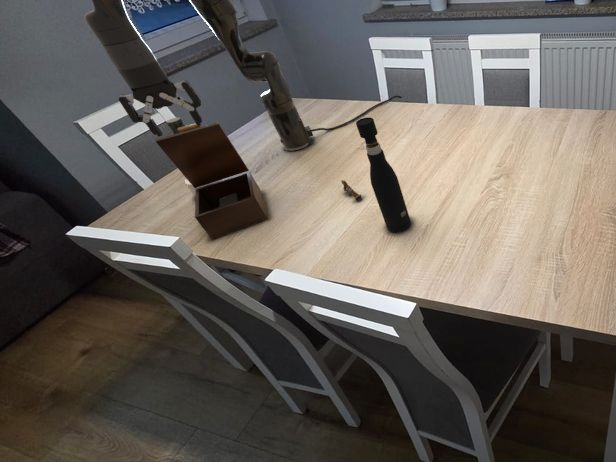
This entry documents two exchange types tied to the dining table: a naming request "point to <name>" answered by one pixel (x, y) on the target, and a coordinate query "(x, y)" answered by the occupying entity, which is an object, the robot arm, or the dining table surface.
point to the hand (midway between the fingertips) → (180, 129)
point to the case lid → (203, 154)
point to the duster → (229, 199)
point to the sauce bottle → (175, 124)
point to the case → (229, 205)
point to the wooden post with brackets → (350, 191)
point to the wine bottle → (384, 180)
